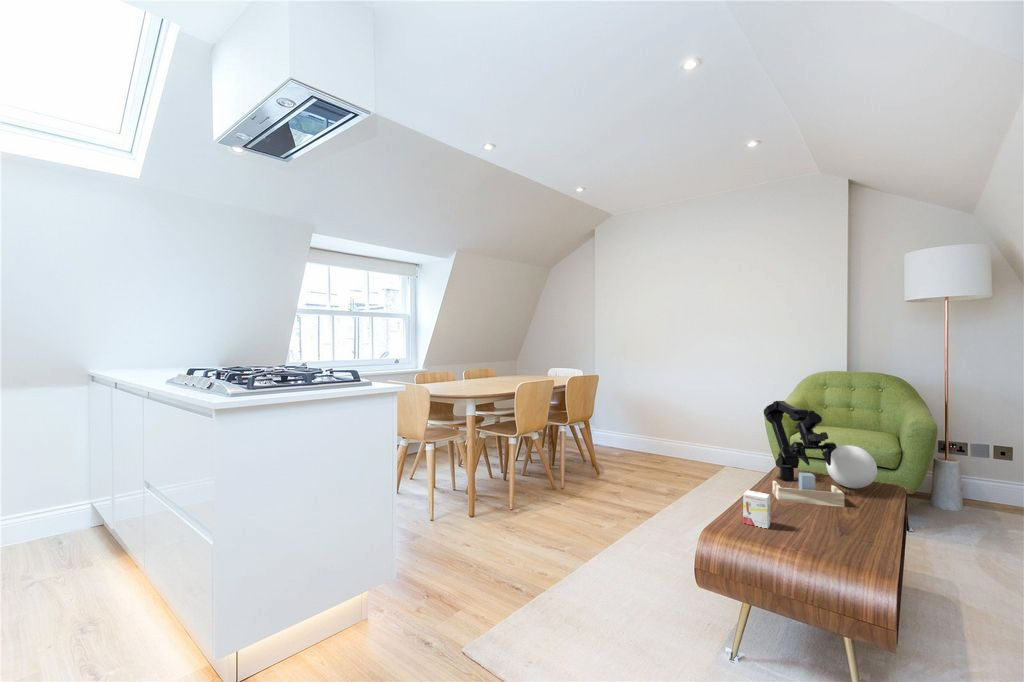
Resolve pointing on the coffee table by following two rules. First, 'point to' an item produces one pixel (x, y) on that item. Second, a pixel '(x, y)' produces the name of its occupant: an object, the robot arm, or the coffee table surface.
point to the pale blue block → (806, 481)
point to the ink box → (756, 509)
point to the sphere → (852, 467)
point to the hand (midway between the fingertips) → (819, 465)
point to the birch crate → (809, 496)
